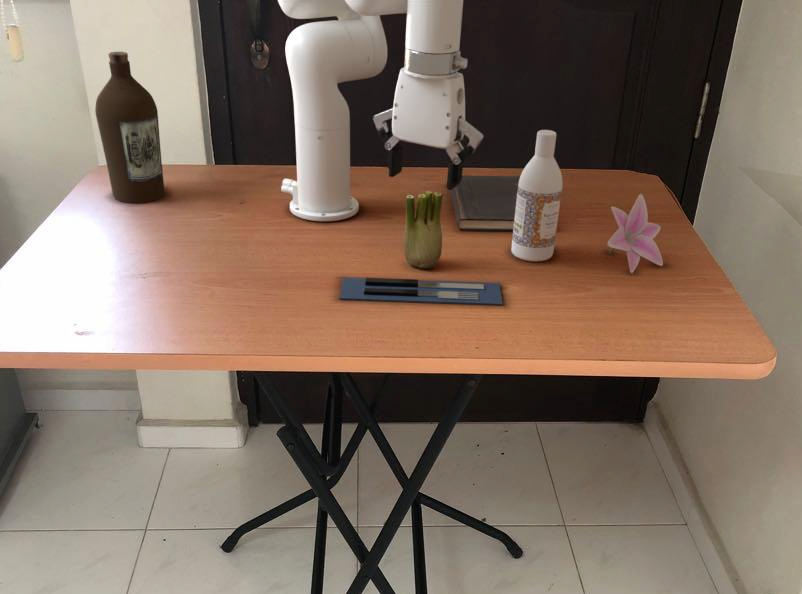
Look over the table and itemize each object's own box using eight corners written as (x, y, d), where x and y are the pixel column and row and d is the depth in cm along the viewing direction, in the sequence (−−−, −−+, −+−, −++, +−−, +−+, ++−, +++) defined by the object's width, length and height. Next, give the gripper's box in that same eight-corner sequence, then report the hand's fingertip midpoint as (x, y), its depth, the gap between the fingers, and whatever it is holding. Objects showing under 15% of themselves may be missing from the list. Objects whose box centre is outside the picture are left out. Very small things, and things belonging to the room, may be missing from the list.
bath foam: (529, 266, 134) (545, 141, 123) (502, 251, 139) (514, 129, 127) (561, 257, 137) (579, 134, 126) (533, 242, 142) (548, 123, 131)
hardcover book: (528, 187, 165) (530, 176, 164) (548, 232, 146) (549, 219, 145) (448, 186, 165) (449, 174, 163) (457, 230, 146) (458, 218, 144)
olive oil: (99, 193, 156) (74, 51, 142) (149, 181, 163) (130, 44, 149) (128, 208, 150) (104, 62, 136) (178, 195, 156) (161, 54, 143)
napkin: (339, 299, 122) (339, 297, 122) (343, 279, 128) (343, 277, 128) (502, 305, 122) (502, 303, 122) (498, 284, 128) (499, 283, 128)
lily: (588, 277, 133) (623, 237, 126) (576, 225, 140) (609, 183, 132) (650, 294, 137) (687, 255, 130) (635, 242, 144) (670, 203, 136)
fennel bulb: (402, 269, 132) (404, 196, 125) (406, 257, 136) (409, 185, 129) (438, 273, 131) (442, 199, 124) (442, 260, 135) (446, 188, 128)
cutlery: (363, 296, 123) (363, 292, 122) (365, 281, 127) (365, 277, 127) (485, 300, 123) (485, 296, 122) (483, 285, 127) (483, 281, 126)
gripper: (498, 66, 116) (485, 184, 126) (388, 48, 122) (384, 162, 132) (478, 77, 110) (466, 200, 120) (364, 58, 116) (361, 176, 126)
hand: (423, 180), depth 126 cm, fingers open, 9 cm apart
